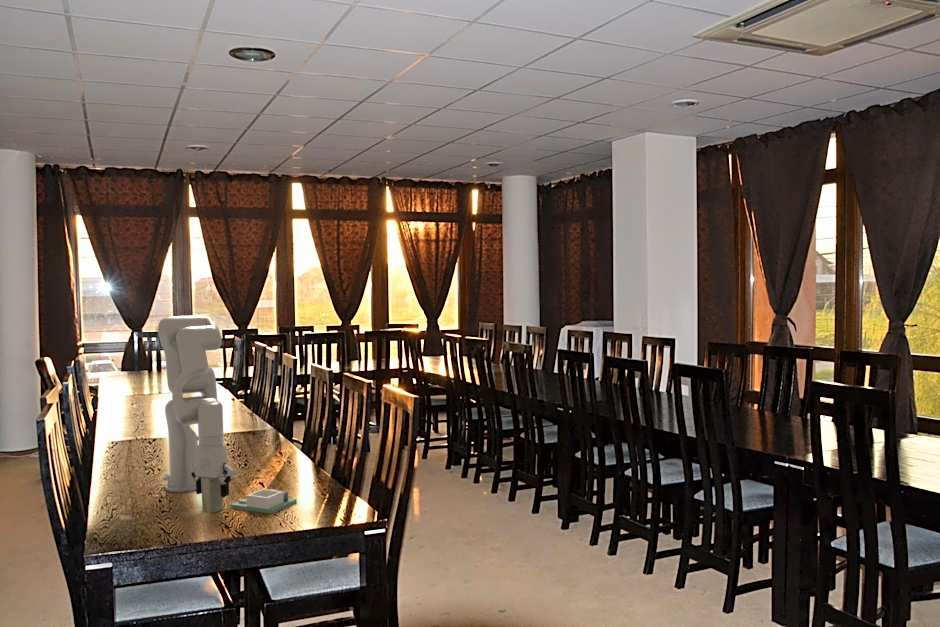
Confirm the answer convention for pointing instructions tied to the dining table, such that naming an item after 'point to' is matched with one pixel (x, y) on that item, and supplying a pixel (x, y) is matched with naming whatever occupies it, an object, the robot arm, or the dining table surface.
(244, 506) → the board
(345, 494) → the dining table surface
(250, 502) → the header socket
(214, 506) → the box
